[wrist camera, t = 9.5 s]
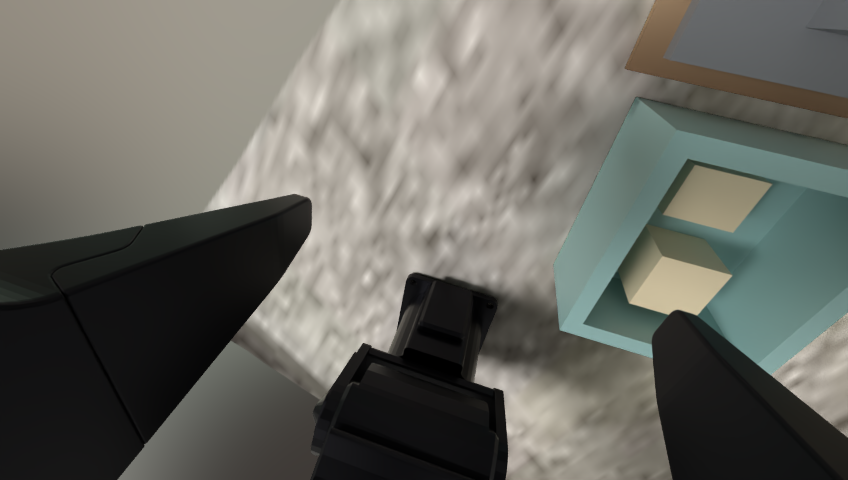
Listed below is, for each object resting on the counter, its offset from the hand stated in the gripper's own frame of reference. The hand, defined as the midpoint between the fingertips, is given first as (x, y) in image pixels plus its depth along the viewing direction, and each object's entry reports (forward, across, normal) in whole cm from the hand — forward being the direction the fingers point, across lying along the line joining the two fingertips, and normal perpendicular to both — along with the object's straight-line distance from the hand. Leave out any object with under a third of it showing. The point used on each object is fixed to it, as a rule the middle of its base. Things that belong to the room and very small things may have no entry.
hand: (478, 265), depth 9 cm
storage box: (+12, -10, +2) cm, 15 cm away
